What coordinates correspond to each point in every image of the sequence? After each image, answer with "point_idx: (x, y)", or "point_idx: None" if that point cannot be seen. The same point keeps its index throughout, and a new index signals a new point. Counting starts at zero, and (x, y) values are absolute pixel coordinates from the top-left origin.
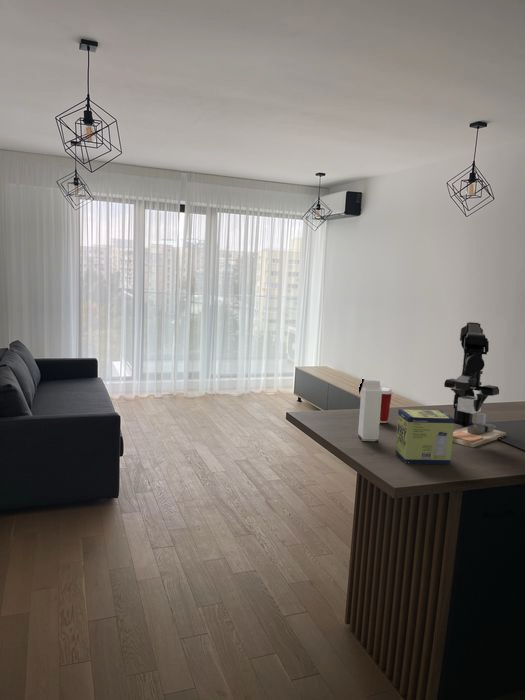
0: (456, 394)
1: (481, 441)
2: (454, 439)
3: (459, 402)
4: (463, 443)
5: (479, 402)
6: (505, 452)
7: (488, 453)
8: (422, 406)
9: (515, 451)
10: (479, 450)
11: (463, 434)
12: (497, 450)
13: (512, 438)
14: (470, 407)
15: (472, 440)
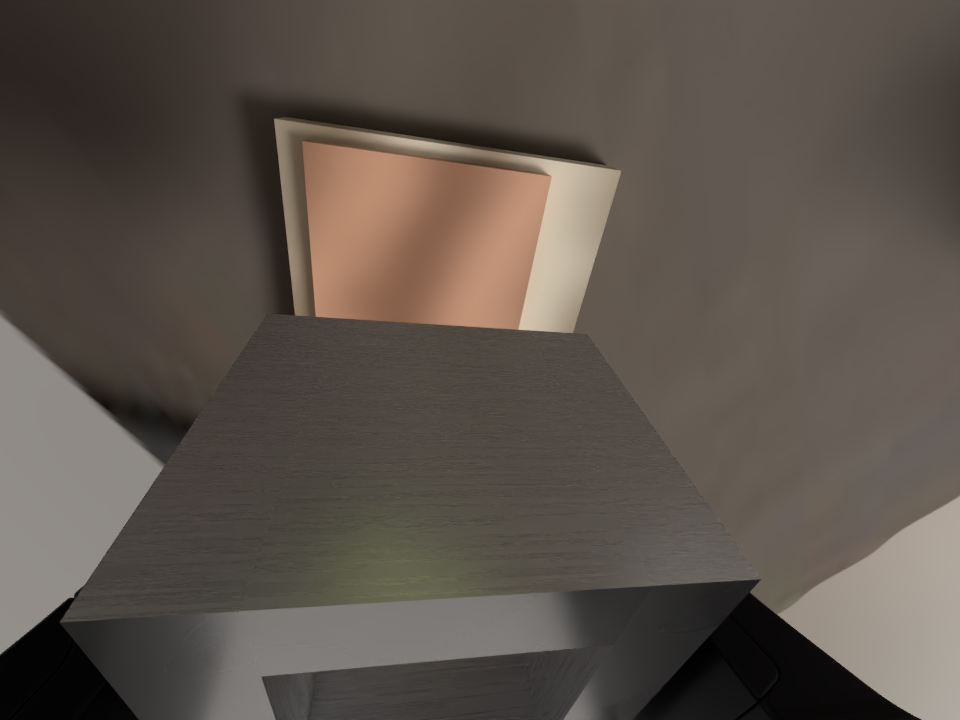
0: (846, 688)
1: (294, 287)
2: (478, 148)
3: (622, 442)
4: (382, 133)
5: (25, 637)
6: (42, 225)
7: (65, 33)
8: (773, 611)
9: (42, 321)
10: (189, 72)
11: (458, 304)
12: (120, 227)
13: None
14: (297, 391)
15: (307, 176)
